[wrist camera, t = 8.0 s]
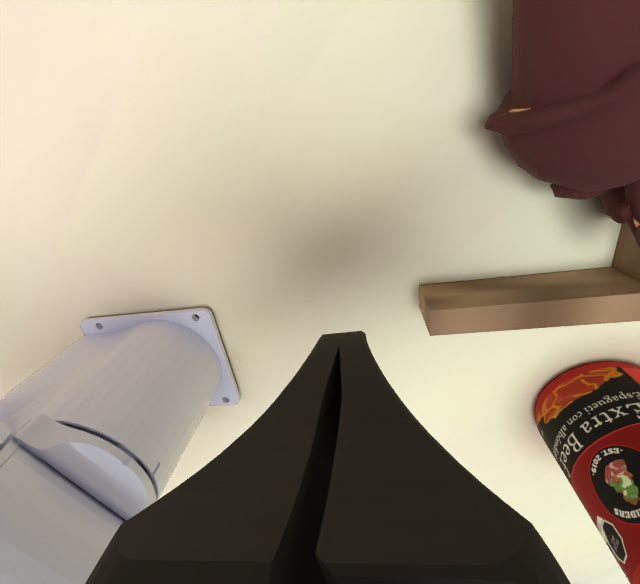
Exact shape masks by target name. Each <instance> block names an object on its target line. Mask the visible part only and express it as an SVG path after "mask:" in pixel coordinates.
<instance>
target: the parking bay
mask: <svg viewBox="0 0 640 584" xmlns="http://www.w3.org/2000/svg"><path fill="white" fill-rule="evenodd" d="M419 293H420V310H421V312H422V315H423V318H424V320H425V323H426V326H427V329H428V331H429V334H430V336H434V335H448V334H462V333H476V332H490V331H504V330H518V329H532V328H546V327H560V326H574V325H588V324H602V323H616V322H630V321H640V248H639V246H638V244H637V242H636V240H635V238H634V236H633V234H632V232H631V230H630V228H629V226H628V225H627V223H624V224H622V228H621V232H620V236H619V240H618V244H617V248H616V252H615V256H614V260H613V264H612V267H608V268H597V269H587V270H576V271H565V272H555V273H544V274H534V275H523V276H513V277H502V278H492V279H481V280H471V281H460V282H450V283H439V284H429V285H419Z"/></svg>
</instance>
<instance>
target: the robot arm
mask: <svg viewBox="0 0 640 584" xmlns="http://www.w3.org/2000/svg"><path fill="white" fill-rule="evenodd" d="M194 314H196V315H198V316H199V318H197V317H195V315H194ZM101 324H102V325H103V326H102V325H101ZM80 327H81V329H82V331H83V333H84V336H83V337H82V338H80V339H79V340H78V341H76V342H75V343H74V344H72V345H71V346H70V347H68V348H67V349H66V350H64V351H63V352H62V353H60V354H59V355H58V356H56V357H55V358H54V359H52V360H51V361H50V362H48V363H47V364H46V365H44V366H43V367H42V368H40V369H39V370H38V371H36V372H35V373H34V374H32V375H31V376H30V377H28V378H27V379H26V380H24V381H23V382H22V383H20V384H19V385H18V386H16V387H15V388H14V389H13V390H11V391H10V392H9V393H8V394H7V395H6V396H5V397H4V398H3V399H2V400H1V401H0V584H570V582H569V580H568V579H567V577H566V575H565V573H564V572H563V570H562V568H561V567H560V565H559V564H558V562H557V560H556V559H555V557H554V556H553V554H552V552H551V551H550V549H549V548H548V547H547V545H546V544H545V542H544V541H543V539H542V538H541V536H540V535H539V533H538V532H537V530H536V529H535V528H534V526H533V525H532V524H531V523H530V522H529V521H528V520H527V519H525V518H524V517H523V516H521V515H520V514H519V513H518V512H516V511H515V510H514V509H513V508H511V507H510V506H509V505H508V504H506V503H505V502H504V501H503V500H501V499H500V498H499V497H498V496H497V495H495V494H494V493H493V492H492V491H491V490H489V489H488V488H487V487H486V486H485V485H483V484H482V483H481V482H480V481H479V480H478V479H477V478H475V477H474V476H473V475H472V474H471V473H470V472H469V471H468V470H466V469H465V468H464V467H463V466H462V465H461V464H460V463H459V462H458V461H457V460H456V459H455V458H454V457H453V456H451V455H450V454H449V453H448V452H447V451H446V450H445V449H444V448H443V447H442V446H441V445H440V444H439V443H438V442H437V441H436V440H435V439H434V438H433V437H432V436H431V435H430V434H429V433H428V432H427V430H426V429H425V428H424V427H423V426H422V425H421V424H420V423H419V421H418V420H417V419H416V418H415V417H414V416H413V414H412V413H411V412H410V411H409V410H408V408H407V407H406V406H405V405H404V403H403V402H402V401H401V400H400V398H399V397H398V395H397V394H396V393H395V391H394V390H393V388H392V387H391V386H390V384H389V383H388V381H387V380H386V378H385V376H384V375H383V373H382V371H381V370H380V368H379V366H378V364H377V363H376V361H375V359H374V357H373V355H372V353H371V351H370V349H369V346H368V343H367V340H366V334H365V333H364V332H362V331H356V332H346V333H335V334H325V335H322V336H321V337H320V339H319V340H318V342H317V344H316V345H315V347H314V348H313V350H312V351H311V353H310V355H309V356H308V358H307V359H306V361H305V362H304V363H303V365H302V366H301V368H300V369H299V371H298V372H297V373H296V375H295V376H294V378H293V379H292V380H291V382H290V383H289V384H288V385H287V387H286V388H285V389H284V390H283V391H282V393H281V394H280V395H279V396H278V398H277V399H276V400H275V401H274V402H273V404H272V405H271V406H270V407H269V408H268V409H267V410H266V411H265V412H264V414H263V415H262V416H261V417H260V418H259V419H258V420H257V421H256V422H255V423H254V424H253V425H252V426H251V427H250V428H249V429H248V430H246V431H245V432H244V433H243V434H242V435H241V436H240V437H239V438H238V439H236V440H235V441H234V442H233V443H232V444H231V445H230V446H229V447H227V448H226V449H225V450H224V451H223V452H222V453H221V454H219V455H218V456H217V457H216V458H214V459H213V460H212V461H211V462H209V463H208V464H207V465H206V466H204V467H203V468H202V469H201V470H199V471H198V472H197V473H195V474H194V475H193V476H191V477H190V478H189V479H187V480H186V481H185V482H183V483H182V484H180V485H179V486H178V487H176V488H175V489H173V490H172V491H171V492H169V493H168V494H166V495H165V496H163V497H162V498H160V499H159V500H158V498H159V497H160V495H161V493H162V491H163V489H164V487H165V485H166V484H167V482H168V480H169V478H170V476H171V474H172V472H173V471H174V469H175V467H176V465H177V463H178V461H179V459H180V457H181V456H182V454H183V452H184V450H185V448H186V446H187V444H188V443H189V441H190V439H191V437H192V435H193V433H194V431H195V429H196V428H197V426H198V424H199V422H200V420H201V418H202V416H203V415H204V413H205V411H206V409H207V407H208V405H229V404H237V403H238V402H239V400H240V394H239V391H238V388H237V385H236V382H235V379H234V376H233V373H232V370H231V367H230V364H229V361H228V358H227V356H226V353H225V350H224V347H223V344H222V341H221V338H220V335H219V332H218V329H217V326H216V323H215V320H214V317H213V314H212V312H211V311H210V310H209V309H207V308H194V309H183V310H172V311H162V312H151V313H141V314H130V315H119V316H109V317H98V318H87V319H84V320H83V321H81V323H80ZM225 397H227V398H228V399H227V398H225Z"/></svg>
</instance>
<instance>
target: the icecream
mask: <svg viewBox="0 0 640 584" xmlns="http://www.w3.org/2000/svg"><path fill="white" fill-rule="evenodd" d="M485 129H488V130H492V131H496V132H500V133H503V137H504V143H505V145H506V147H507V148H508V150H509V152H510V153H511V155H512V156H513V158H514V159H515V161H516V162H517V164H518V165H519V166H520V167H521V168H523V169H524V170H526V171H527V172H529V173H530V174H532V175H533V176H535V177H536V178H538V179H539V180H543V181H546V182H549V183H552V184H551V185H550V186H551V188H552V191H553V193H554V196H555V197H561V198H571V199H588V198H592V197H597V196H599V197H600V200H601V202H602V204H603V206H604V208H605V211H606V213H607V214H608V215H609V216H610V217H611V218H612V219H613V220H614V221H616V222H617V223H622V224H624V223H627V225H628V226H629V228H630V230H631V232H632V234H633V236H634V238H635V240H636V242H637V244H638V246H639V248H640V0H513V17H512V90H511V91H510V92H509V93H508V94H507V95H506V96H505V99H504V101H503V103H502V105H501V106H500V108H499V110H498V111H497V112H495V113H494V114H492V115H491V116H490V117H489V119H488V121H487V123H486V125H485Z"/></svg>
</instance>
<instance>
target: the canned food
mask: <svg viewBox="0 0 640 584" xmlns="http://www.w3.org/2000/svg"><path fill="white" fill-rule="evenodd" d="M535 415H536V421H537V426H538V429H539V432H540V434H541V436H542V438H543V439H544V441H545V443H546V444H547V446H548V448H549V449H550V451H551V453H552V454H553V456H554V458H555V459H556V461H557V463H558V464H559V466H560V468H561V469H562V471H563V472H564V474H565V476H566V477H567V479H568V481H569V482H570V484H571V486H572V487H573V489H574V491H575V492H576V494H577V496H578V497H579V499H580V501H581V502H582V504H583V506H584V507H585V509H586V511H587V512H588V514H589V516H590V517H591V519H592V520H593V522H594V524H595V525H596V527H597V529H598V530H599V532H600V534H601V535H602V537H603V539H604V540H605V542H606V544H607V545H608V547H609V549H610V550H611V552H612V554H613V555H614V557H615V559H616V560H617V562H618V564H619V565H620V567H621V569H622V570H623V572H624V573H625V575H626V577H627V578H628V580H629V582H630V583H631V584H640V368H639V367H637V366H633V365H630V364H627V363H620V362H597V363H591V364H586V365H583V366H580V367H577V368H574V369H572V370H569V371H567V372H565V373H563V374H562V375H560V376H559V377H557V378H555V379H554V380H553V381H552V382H551V383H549V384H548V385H547V386H546V387H545V388H544V390H543V391H542V393H541V394H540V395H539V398H538V400H537V402H536V407H535Z"/></svg>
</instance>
